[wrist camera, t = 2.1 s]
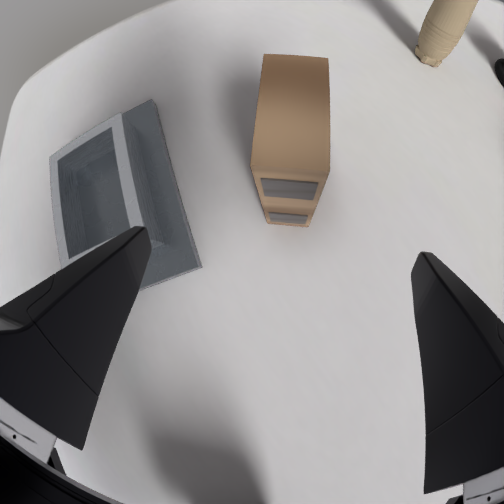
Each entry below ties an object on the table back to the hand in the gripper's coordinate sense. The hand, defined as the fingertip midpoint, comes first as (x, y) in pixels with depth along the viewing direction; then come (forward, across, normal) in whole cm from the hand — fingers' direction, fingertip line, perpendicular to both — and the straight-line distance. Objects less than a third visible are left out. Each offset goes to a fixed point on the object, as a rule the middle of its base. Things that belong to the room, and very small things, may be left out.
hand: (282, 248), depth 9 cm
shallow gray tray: (+12, +15, +6) cm, 20 cm away
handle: (+26, -14, -8) cm, 30 cm away
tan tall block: (+13, 0, +4) cm, 14 cm away
